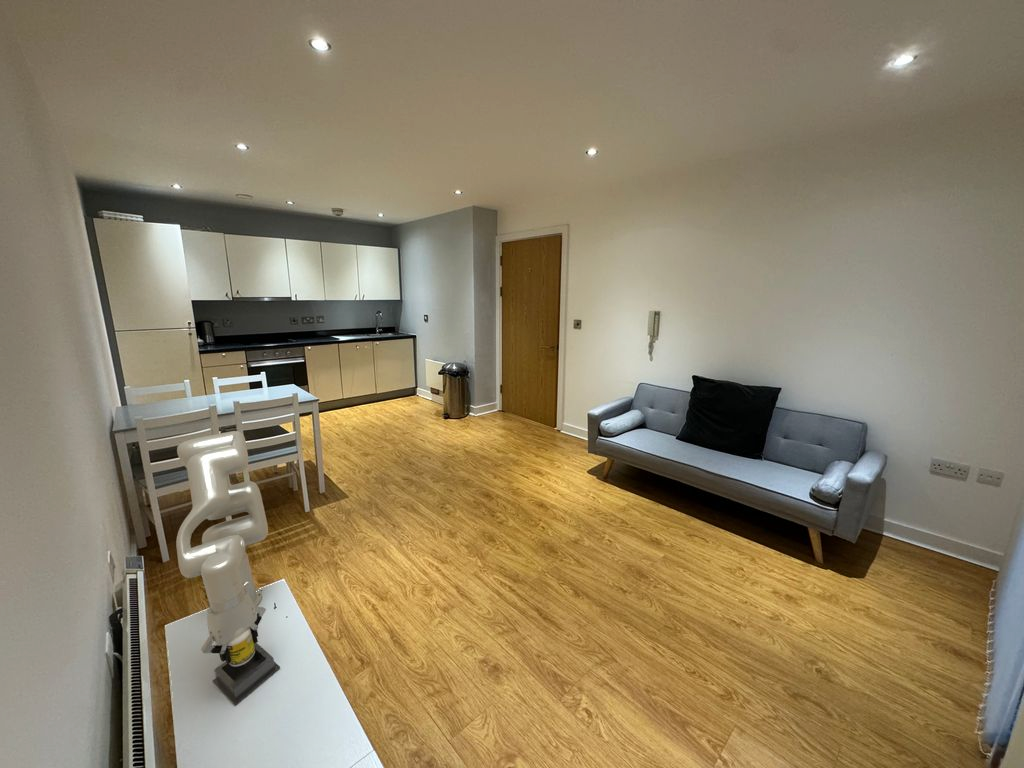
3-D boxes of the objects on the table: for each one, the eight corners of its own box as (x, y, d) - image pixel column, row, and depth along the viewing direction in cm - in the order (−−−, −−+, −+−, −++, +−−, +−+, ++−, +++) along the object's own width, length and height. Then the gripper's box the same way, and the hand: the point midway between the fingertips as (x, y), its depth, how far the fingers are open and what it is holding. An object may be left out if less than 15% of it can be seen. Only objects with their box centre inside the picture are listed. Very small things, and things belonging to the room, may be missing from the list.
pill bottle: (224, 669, 108) (216, 638, 105) (235, 648, 114) (227, 618, 111) (250, 665, 109) (242, 633, 106) (259, 644, 115) (251, 614, 112)
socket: (212, 682, 112) (209, 670, 110) (257, 648, 121) (255, 637, 120) (235, 706, 106) (231, 693, 104) (280, 668, 116) (277, 656, 114)
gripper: (254, 571, 115) (265, 621, 120) (181, 615, 100) (198, 669, 106) (268, 582, 111) (279, 632, 116) (195, 629, 97) (212, 684, 102)
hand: (240, 649), depth 111 cm, fingers closed on pill bottle, 6 cm apart
